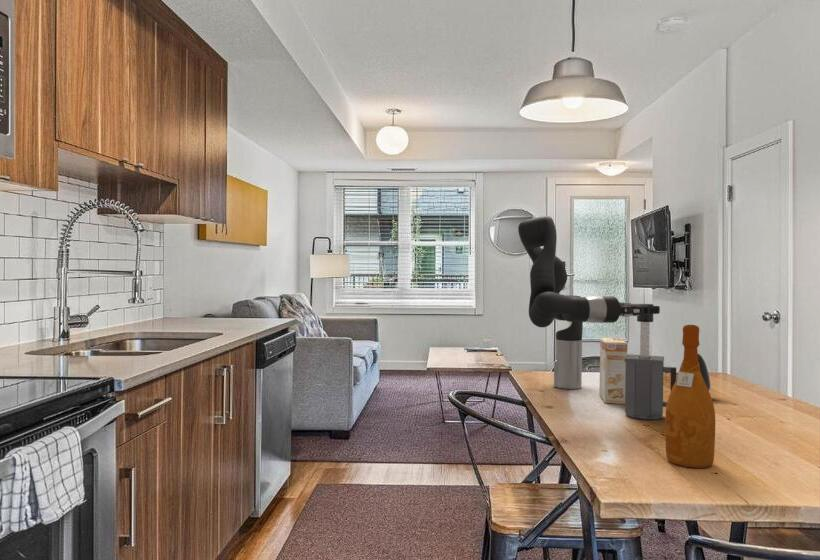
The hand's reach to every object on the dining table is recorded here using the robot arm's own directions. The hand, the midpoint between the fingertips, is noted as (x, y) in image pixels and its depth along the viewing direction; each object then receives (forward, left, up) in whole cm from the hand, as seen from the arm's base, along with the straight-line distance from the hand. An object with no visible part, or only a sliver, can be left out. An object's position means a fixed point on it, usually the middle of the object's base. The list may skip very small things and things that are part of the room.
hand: (653, 309), depth 174 cm
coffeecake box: (-13, +19, -31) cm, 39 cm away
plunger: (-2, -2, -21) cm, 22 cm away
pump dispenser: (+11, +34, -31) cm, 48 cm away
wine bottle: (+10, -44, -31) cm, 54 cm away
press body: (-1, -2, -31) cm, 31 cm away
